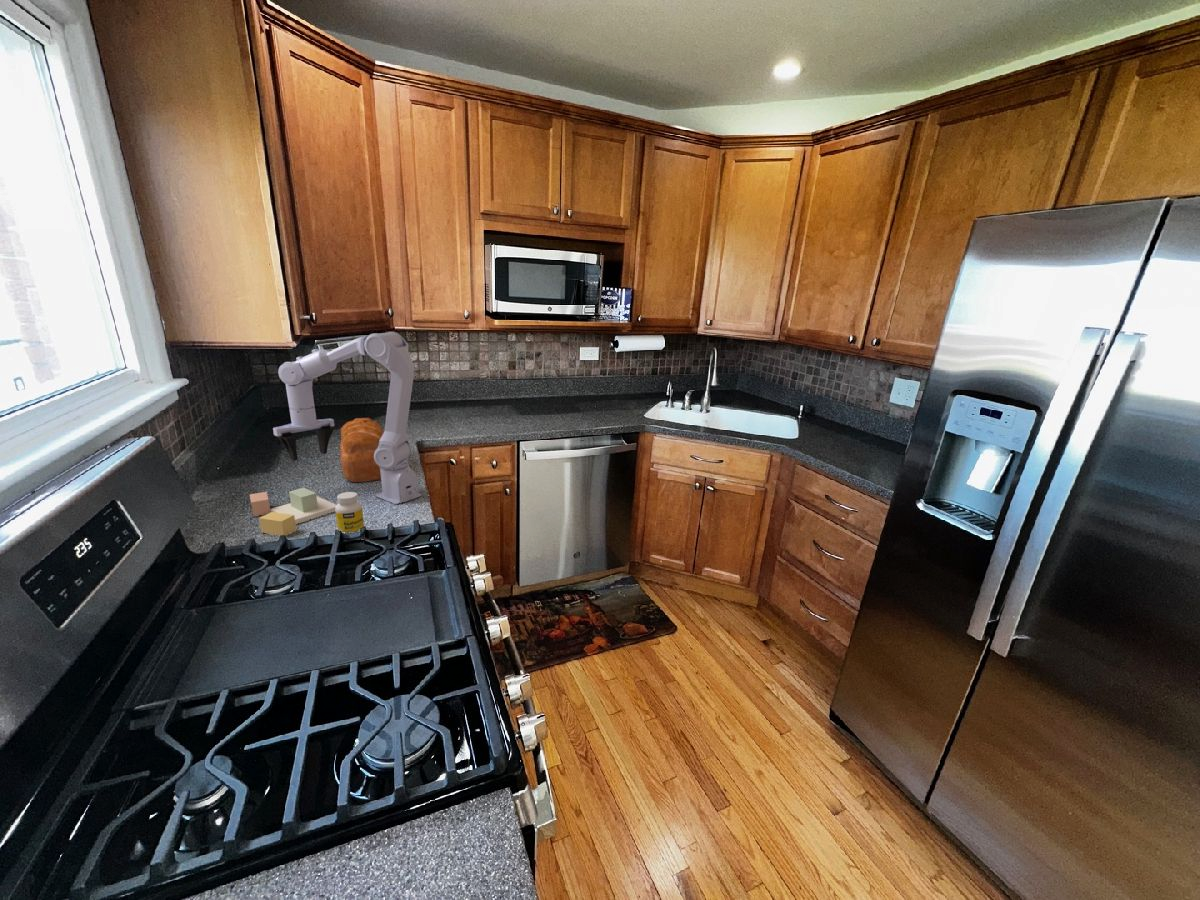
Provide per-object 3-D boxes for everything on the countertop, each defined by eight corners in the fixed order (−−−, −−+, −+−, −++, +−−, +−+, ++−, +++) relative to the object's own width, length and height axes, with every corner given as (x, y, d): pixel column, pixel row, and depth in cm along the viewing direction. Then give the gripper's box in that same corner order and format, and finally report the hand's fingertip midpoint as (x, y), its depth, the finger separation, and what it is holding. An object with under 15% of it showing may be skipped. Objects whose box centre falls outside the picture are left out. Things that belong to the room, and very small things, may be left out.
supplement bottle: (344, 542, 105) (338, 501, 102) (334, 534, 108) (329, 494, 105) (369, 534, 109) (364, 495, 106) (359, 527, 112) (354, 488, 109)
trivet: (339, 510, 120) (338, 505, 120) (293, 525, 112) (292, 520, 111) (316, 499, 126) (316, 495, 126) (271, 513, 117) (270, 508, 117)
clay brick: (271, 514, 117) (268, 499, 116) (253, 517, 115) (250, 502, 114) (269, 506, 122) (266, 491, 120) (252, 509, 120) (249, 494, 118)
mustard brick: (296, 530, 109) (294, 515, 108) (284, 537, 106) (281, 521, 105) (274, 527, 110) (272, 511, 109) (261, 534, 107) (258, 518, 106)
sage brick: (318, 507, 118) (316, 493, 117) (303, 512, 116) (301, 497, 114) (305, 502, 122) (303, 487, 120) (291, 506, 119) (288, 491, 118)
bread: (386, 454, 166) (381, 411, 161) (395, 479, 144) (390, 429, 139) (341, 459, 159) (335, 414, 155) (343, 485, 137) (337, 434, 132)
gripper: (322, 401, 132) (328, 447, 136) (264, 409, 120) (272, 459, 124) (335, 404, 129) (341, 452, 132) (277, 413, 117) (286, 465, 121)
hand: (309, 456), depth 128 cm, fingers open, 7 cm apart
